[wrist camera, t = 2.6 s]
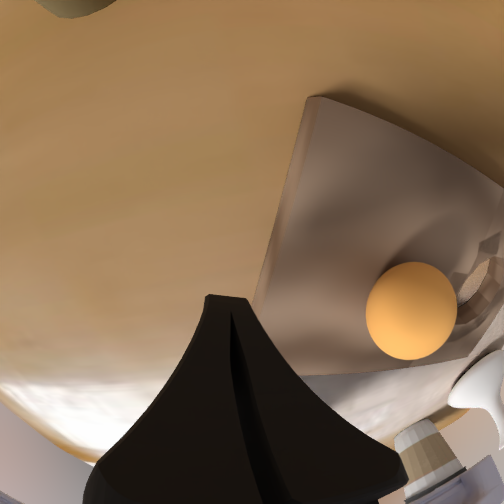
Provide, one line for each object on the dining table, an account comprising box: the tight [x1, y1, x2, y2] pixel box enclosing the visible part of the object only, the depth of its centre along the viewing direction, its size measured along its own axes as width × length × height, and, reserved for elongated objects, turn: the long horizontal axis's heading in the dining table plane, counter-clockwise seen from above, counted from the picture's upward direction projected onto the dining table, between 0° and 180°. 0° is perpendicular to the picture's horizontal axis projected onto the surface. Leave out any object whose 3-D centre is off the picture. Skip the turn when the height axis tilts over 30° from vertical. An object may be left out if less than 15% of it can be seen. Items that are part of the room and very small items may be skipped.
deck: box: [252, 96, 504, 375], centre depth 17 cm, size 16×24×2 cm, turn 78°
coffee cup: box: [394, 419, 467, 504], centre depth 29 cm, size 11×11×15 cm
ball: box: [366, 262, 457, 360], centre depth 13 cm, size 5×5×5 cm
